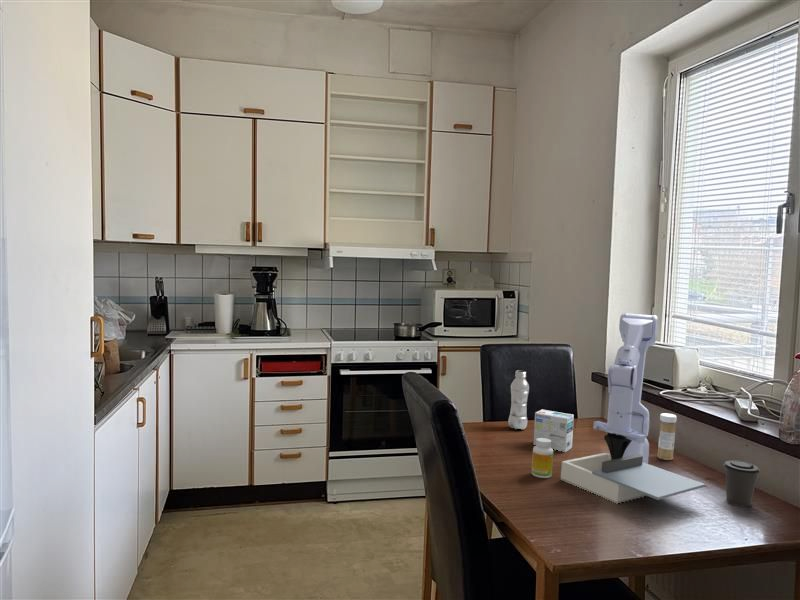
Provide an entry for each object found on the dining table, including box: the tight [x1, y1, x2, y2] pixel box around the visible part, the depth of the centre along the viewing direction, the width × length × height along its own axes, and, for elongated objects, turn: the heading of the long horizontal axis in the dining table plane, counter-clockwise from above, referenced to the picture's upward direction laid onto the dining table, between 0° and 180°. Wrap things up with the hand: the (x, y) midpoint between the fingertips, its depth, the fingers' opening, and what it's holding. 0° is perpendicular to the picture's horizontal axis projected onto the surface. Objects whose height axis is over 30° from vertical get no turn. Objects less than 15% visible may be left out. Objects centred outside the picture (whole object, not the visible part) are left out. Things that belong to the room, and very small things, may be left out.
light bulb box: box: [532, 408, 575, 453], centre depth 193 cm, size 11×7×11 cm, turn 58°
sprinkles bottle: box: [657, 412, 678, 461], centre depth 186 cm, size 5×5×13 cm
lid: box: [592, 454, 706, 501], centre depth 152 cm, size 19×19×3 cm
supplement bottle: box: [531, 438, 554, 479], centre depth 167 cm, size 5×5×10 cm
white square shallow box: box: [560, 452, 648, 505], centre depth 161 cm, size 18×18×5 cm
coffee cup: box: [723, 459, 761, 507], centre depth 154 cm, size 8×8×10 cm
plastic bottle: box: [508, 370, 530, 430], centre depth 211 cm, size 6×7×20 cm
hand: (616, 463), depth 160 cm, fingers closed
